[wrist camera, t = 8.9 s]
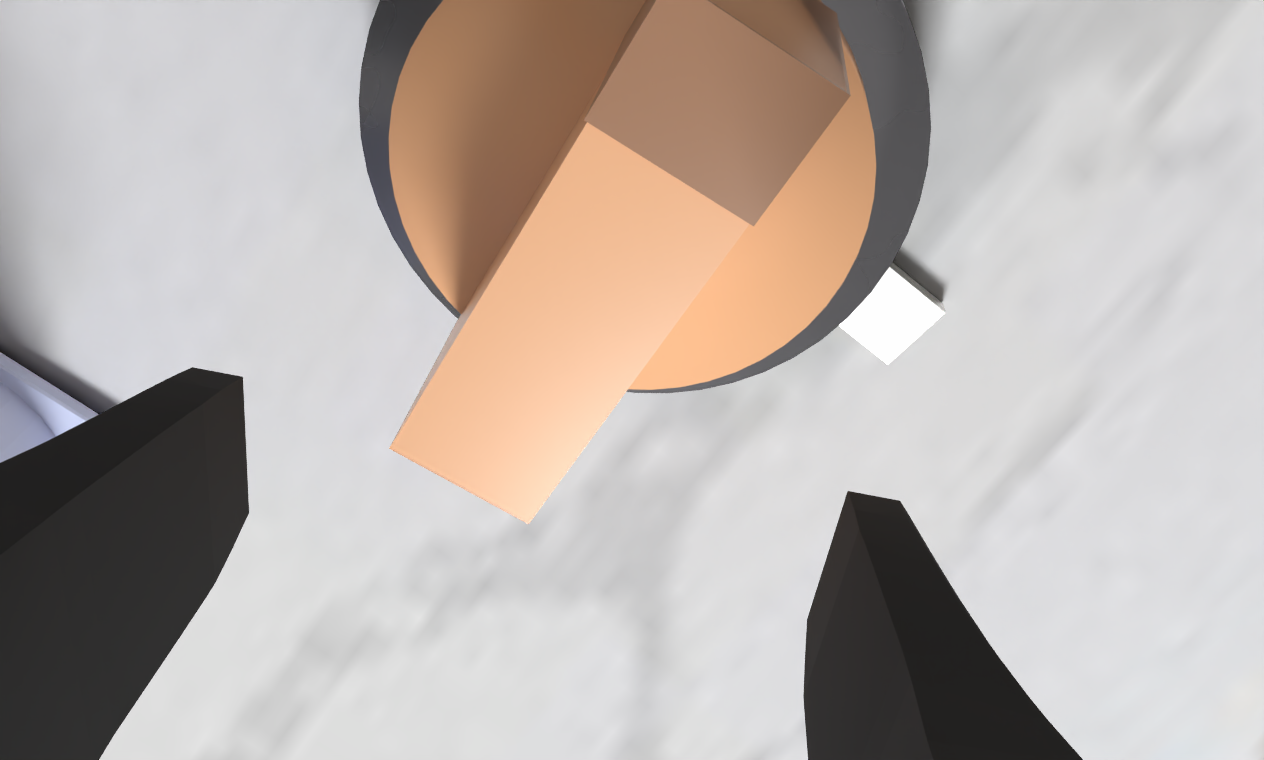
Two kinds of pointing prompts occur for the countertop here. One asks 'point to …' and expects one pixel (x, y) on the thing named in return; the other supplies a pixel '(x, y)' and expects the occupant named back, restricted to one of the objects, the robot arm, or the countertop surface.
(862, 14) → the post base
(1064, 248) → the countertop surface
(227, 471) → the robot arm
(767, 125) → the twist cap
